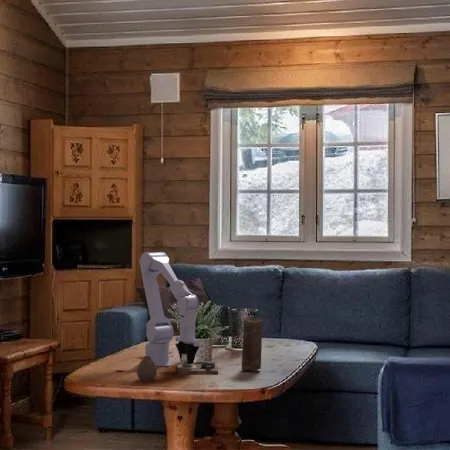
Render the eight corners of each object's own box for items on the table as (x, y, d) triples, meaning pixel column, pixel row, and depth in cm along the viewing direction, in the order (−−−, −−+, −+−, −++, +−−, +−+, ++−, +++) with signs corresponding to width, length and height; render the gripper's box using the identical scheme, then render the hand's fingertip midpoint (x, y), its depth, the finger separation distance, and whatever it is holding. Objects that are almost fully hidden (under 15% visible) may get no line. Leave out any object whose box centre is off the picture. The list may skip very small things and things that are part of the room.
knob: (179, 364, 343) (179, 352, 343) (189, 364, 345) (189, 351, 345) (185, 366, 339) (185, 354, 339) (195, 366, 341) (196, 353, 341)
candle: (263, 370, 346) (264, 317, 345) (258, 373, 339) (259, 320, 338) (244, 368, 348) (245, 316, 348) (238, 371, 341) (239, 318, 341)
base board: (177, 373, 335) (177, 365, 335) (177, 367, 349) (177, 358, 349) (218, 374, 336) (218, 365, 336) (216, 367, 350) (216, 359, 350)
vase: (137, 379, 323) (137, 354, 323) (156, 379, 324) (156, 354, 324) (136, 383, 316) (137, 358, 316) (156, 383, 317) (157, 358, 317)
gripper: (168, 325, 346) (168, 360, 346) (188, 330, 333) (187, 366, 334) (184, 324, 349) (184, 359, 350) (204, 328, 337) (203, 365, 338)
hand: (186, 362), depth 342 cm, fingers closed on knob, 4 cm apart
